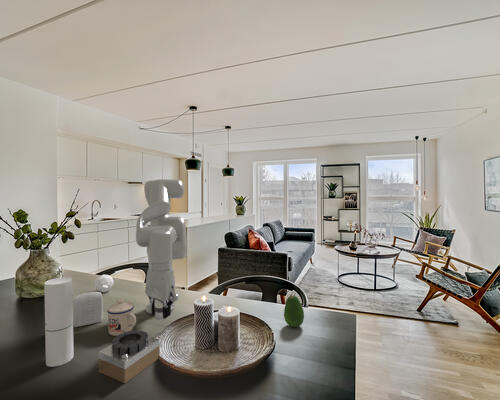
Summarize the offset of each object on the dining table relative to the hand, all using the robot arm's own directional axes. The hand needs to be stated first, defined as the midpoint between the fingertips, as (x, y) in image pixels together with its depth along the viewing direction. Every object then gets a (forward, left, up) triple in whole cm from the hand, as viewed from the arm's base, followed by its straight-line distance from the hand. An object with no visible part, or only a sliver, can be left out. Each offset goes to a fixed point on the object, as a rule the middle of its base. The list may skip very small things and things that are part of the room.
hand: (161, 314), depth 97 cm
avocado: (-30, +40, -9) cm, 51 cm away
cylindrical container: (+23, -20, -9) cm, 32 cm away
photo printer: (+4, -35, -9) cm, 36 cm away
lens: (0, 0, -1) cm, 1 cm away
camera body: (+15, +2, -9) cm, 17 cm away
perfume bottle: (-21, -61, -9) cm, 65 cm away
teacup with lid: (+2, -17, -9) cm, 20 cm away
